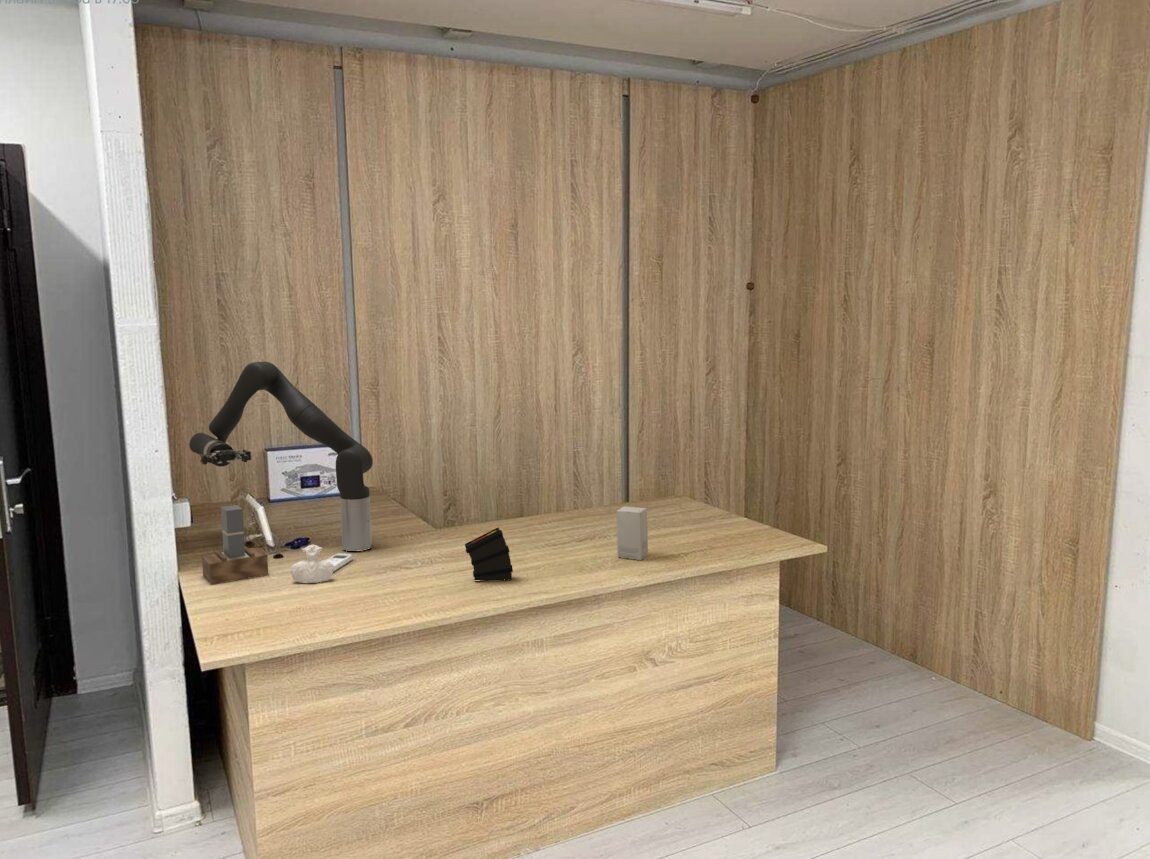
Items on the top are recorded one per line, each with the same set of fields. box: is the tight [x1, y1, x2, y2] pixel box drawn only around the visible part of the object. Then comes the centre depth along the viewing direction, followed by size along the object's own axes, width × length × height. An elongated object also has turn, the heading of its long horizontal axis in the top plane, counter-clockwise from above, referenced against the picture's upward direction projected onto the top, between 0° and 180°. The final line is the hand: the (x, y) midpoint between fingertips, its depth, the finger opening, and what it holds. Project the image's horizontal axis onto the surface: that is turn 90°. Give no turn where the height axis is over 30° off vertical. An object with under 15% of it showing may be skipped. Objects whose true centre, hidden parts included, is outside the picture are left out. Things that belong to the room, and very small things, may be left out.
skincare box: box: [616, 505, 649, 561], centre depth 275 cm, size 8×7×16 cm
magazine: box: [464, 527, 514, 581], centre depth 253 cm, size 4×13×15 cm, turn 98°
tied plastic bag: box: [290, 544, 335, 584], centre depth 253 cm, size 12×8×11 cm
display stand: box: [201, 545, 269, 585], centre depth 258 cm, size 16×10×7 cm, turn 125°
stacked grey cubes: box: [220, 504, 246, 558], centre depth 256 cm, size 6×5×14 cm
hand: (231, 460), depth 266 cm, fingers open, 8 cm apart
